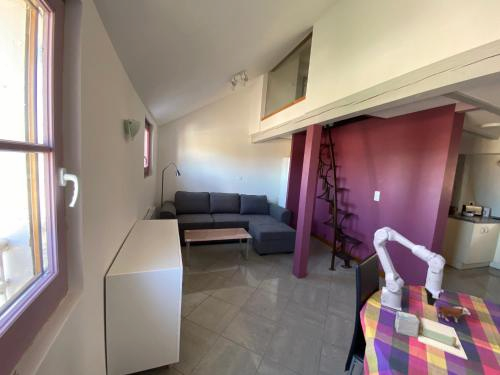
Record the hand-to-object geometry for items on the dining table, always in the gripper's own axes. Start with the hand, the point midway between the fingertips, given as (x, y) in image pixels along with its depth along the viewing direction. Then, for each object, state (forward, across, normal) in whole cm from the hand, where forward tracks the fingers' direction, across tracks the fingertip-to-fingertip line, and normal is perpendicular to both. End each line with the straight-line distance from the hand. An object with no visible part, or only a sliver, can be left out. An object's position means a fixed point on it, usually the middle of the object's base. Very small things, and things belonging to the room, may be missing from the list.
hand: (430, 304), depth 107 cm
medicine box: (+10, -16, +10) cm, 21 cm away
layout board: (+9, -9, -2) cm, 13 cm away
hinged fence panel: (+9, -14, -1) cm, 16 cm away
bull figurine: (+10, +9, -11) cm, 17 cm away
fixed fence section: (+9, -7, +5) cm, 12 cm away
